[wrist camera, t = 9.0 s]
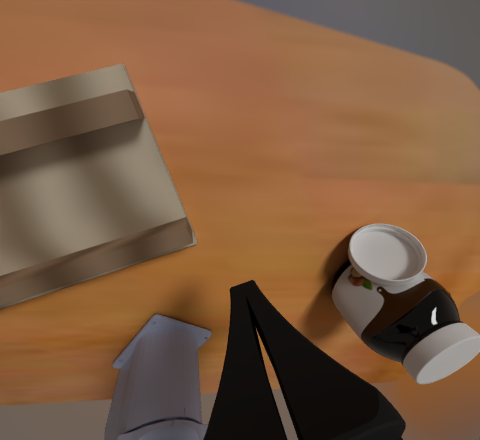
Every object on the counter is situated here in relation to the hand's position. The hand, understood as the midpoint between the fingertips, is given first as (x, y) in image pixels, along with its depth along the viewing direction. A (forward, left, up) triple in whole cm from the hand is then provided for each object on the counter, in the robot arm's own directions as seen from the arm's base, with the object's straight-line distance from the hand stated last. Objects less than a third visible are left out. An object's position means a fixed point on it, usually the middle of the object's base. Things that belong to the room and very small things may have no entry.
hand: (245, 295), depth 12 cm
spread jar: (+5, -19, -10) cm, 22 cm away
